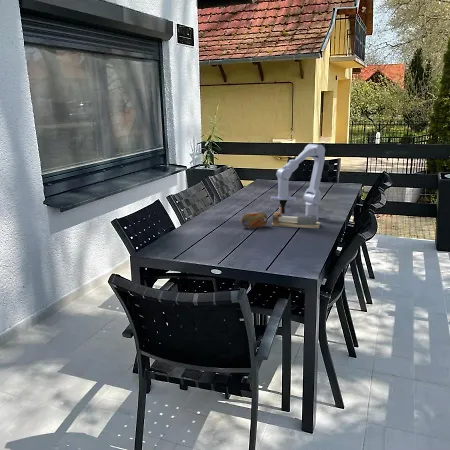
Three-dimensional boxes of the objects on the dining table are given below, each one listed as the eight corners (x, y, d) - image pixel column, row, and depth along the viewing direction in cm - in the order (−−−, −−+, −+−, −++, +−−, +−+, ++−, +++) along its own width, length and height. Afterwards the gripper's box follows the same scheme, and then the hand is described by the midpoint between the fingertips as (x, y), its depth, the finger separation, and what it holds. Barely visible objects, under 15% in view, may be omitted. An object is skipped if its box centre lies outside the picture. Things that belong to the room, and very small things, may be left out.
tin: (242, 229, 258) (242, 214, 256) (240, 227, 261) (240, 213, 259) (267, 226, 262) (267, 212, 260) (265, 225, 265) (266, 211, 263)
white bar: (275, 219, 268) (275, 206, 266) (303, 221, 264) (303, 207, 262) (274, 221, 265) (275, 207, 263) (303, 222, 261) (303, 208, 259)
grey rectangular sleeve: (298, 222, 266) (298, 214, 265) (316, 223, 264) (316, 215, 263) (297, 224, 261) (297, 216, 260) (315, 225, 259) (315, 217, 258)
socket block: (274, 220, 271) (274, 211, 269) (279, 220, 270) (279, 212, 268) (272, 223, 264) (272, 214, 263) (277, 223, 263) (277, 215, 262)
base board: (273, 221, 272) (273, 219, 272) (319, 223, 266) (319, 222, 266) (271, 225, 263) (271, 224, 263) (318, 228, 256) (318, 226, 256)
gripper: (269, 190, 259) (269, 214, 262) (295, 191, 255) (295, 215, 259) (271, 188, 265) (271, 211, 269) (296, 188, 262) (296, 212, 265)
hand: (283, 213), depth 264 cm, fingers closed, pressing on white bar
